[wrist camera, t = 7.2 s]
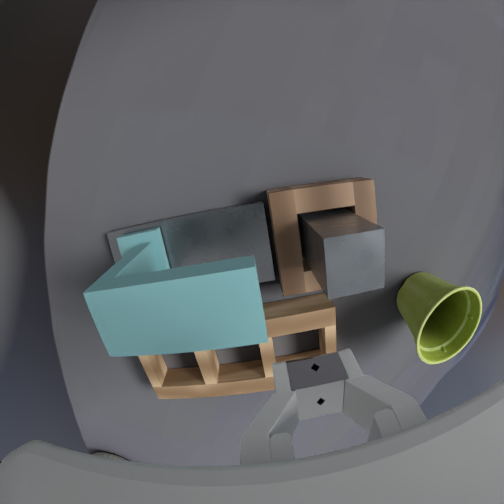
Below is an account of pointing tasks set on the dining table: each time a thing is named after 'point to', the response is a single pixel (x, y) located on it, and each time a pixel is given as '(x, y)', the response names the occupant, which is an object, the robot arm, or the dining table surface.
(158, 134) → the dining table surface
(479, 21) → the dining table surface
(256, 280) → the plate
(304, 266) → the socket frame
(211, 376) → the rack
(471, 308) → the plant pot
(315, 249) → the grey rectangular block
